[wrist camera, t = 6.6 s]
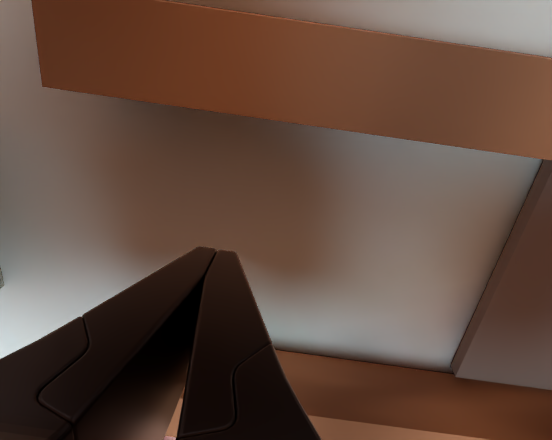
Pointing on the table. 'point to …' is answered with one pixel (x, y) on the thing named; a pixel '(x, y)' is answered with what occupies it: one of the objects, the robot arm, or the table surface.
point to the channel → (336, 115)
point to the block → (1, 280)
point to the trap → (516, 303)
